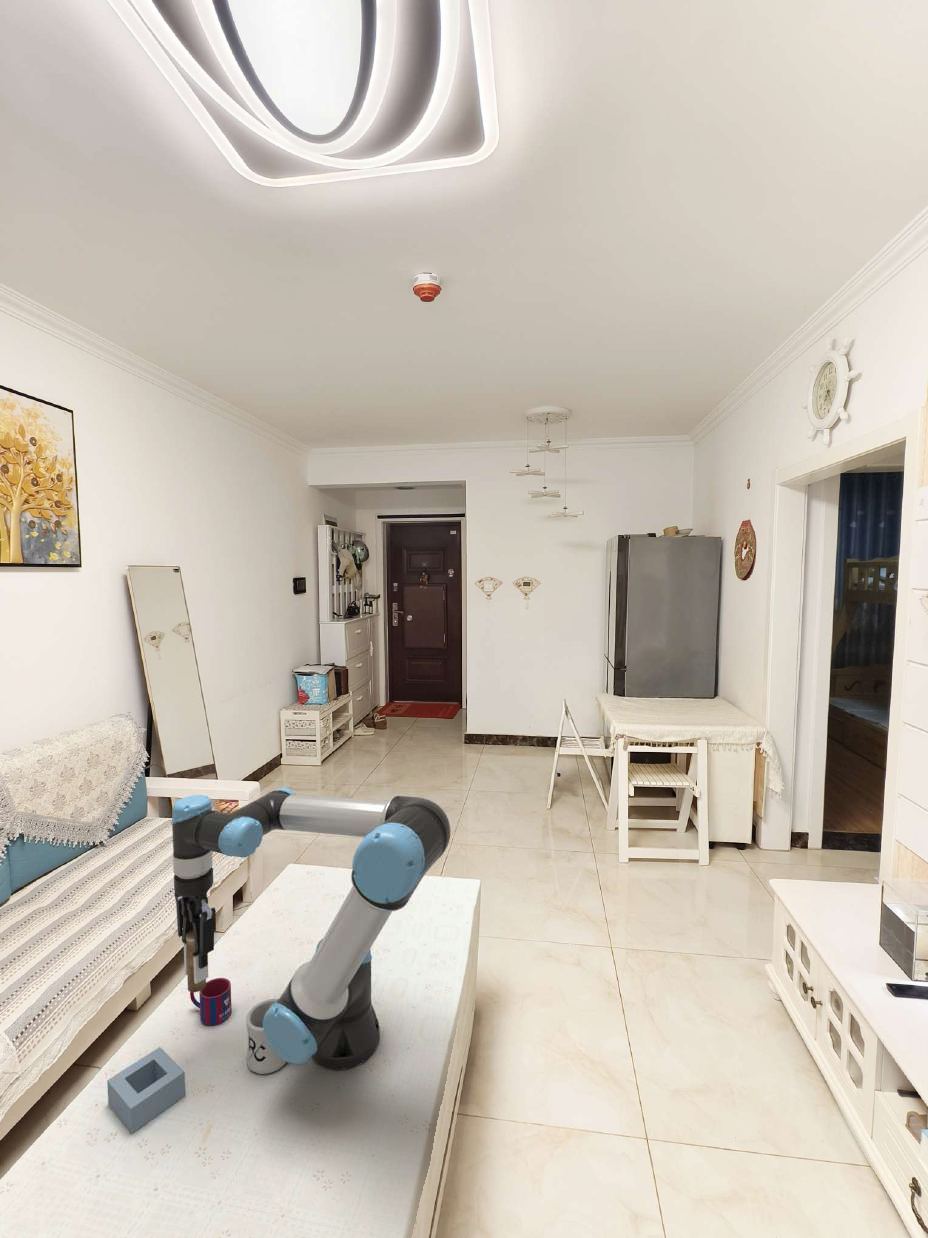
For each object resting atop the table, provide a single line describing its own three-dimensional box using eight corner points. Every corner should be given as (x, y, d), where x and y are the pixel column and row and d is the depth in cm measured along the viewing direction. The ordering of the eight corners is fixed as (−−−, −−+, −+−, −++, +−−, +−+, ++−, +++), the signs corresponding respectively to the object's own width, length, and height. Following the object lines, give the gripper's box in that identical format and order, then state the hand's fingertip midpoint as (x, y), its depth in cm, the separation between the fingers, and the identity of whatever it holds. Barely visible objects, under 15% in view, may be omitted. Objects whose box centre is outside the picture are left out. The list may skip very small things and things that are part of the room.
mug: (237, 1071, 120) (236, 1026, 120) (262, 1037, 129) (261, 995, 128) (291, 1084, 117) (290, 1037, 117) (313, 1048, 126) (312, 1005, 125)
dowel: (209, 985, 125) (208, 932, 124) (192, 995, 122) (191, 941, 121) (201, 978, 127) (199, 926, 126) (184, 987, 125) (182, 934, 124)
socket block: (185, 1095, 115) (184, 1072, 114) (131, 1134, 107) (130, 1109, 106) (160, 1069, 121) (159, 1047, 120) (108, 1104, 113) (107, 1080, 112)
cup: (216, 1030, 131) (215, 1001, 131) (182, 1017, 135) (181, 990, 134) (237, 1009, 137) (237, 982, 137) (205, 998, 141) (204, 971, 140)
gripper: (230, 876, 120) (233, 983, 122) (192, 851, 131) (195, 950, 133) (195, 892, 115) (198, 1004, 117) (157, 864, 125) (161, 967, 127)
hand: (196, 975), depth 125 cm, fingers closed on dowel, 3 cm apart
